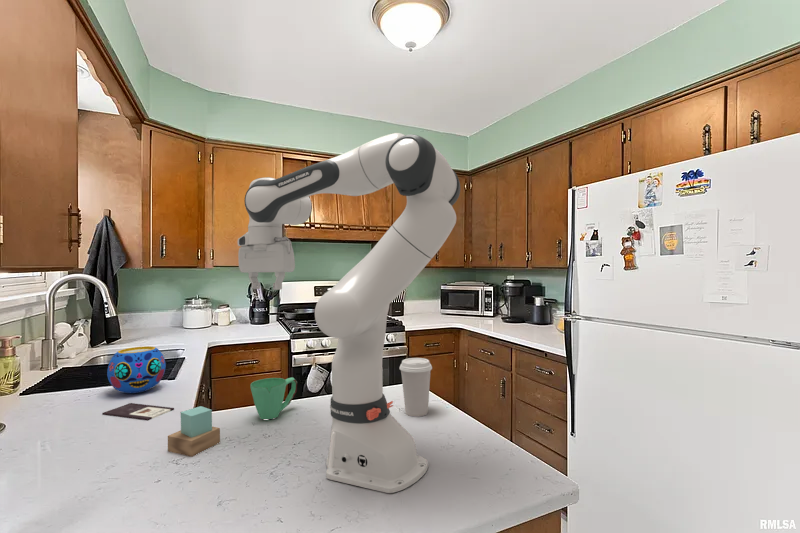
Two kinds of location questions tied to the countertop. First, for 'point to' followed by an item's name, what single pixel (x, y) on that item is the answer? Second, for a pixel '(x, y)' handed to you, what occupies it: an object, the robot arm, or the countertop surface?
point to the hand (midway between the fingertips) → (266, 289)
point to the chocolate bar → (138, 411)
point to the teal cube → (196, 421)
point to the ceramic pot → (136, 369)
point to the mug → (272, 396)
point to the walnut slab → (193, 442)
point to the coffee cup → (416, 385)
